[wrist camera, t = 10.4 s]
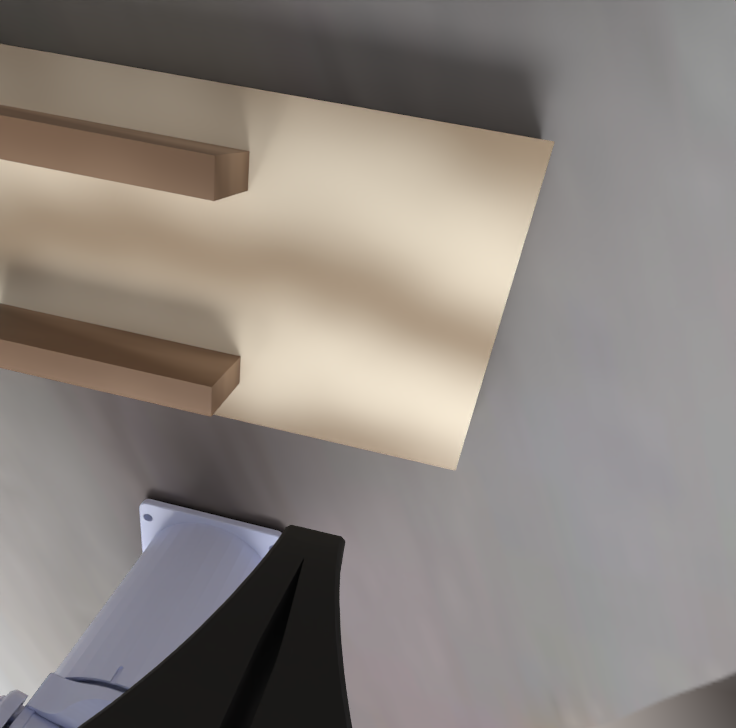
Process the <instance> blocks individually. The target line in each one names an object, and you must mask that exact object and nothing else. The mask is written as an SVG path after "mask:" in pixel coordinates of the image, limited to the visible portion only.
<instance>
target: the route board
mask: <svg viewBox="0 0 736 728" xmlns="http://www.w3.org/2000/svg"><path fill="white" fill-rule="evenodd" d="M553 145H554V142H553V141H548V140H542V139H536V138H531V137H525V136H519V135H514V134H508V133H502V132H497V131H491V130H485V129H480V128H474V127H468V126H463V125H457V124H452V123H446V122H440V121H435V120H429V119H423V118H418V117H412V116H406V115H401V114H395V113H389V112H384V111H378V110H372V109H367V108H361V107H355V106H350V105H344V104H338V103H333V102H327V101H321V100H316V99H310V98H304V97H299V96H293V95H287V94H282V93H276V92H270V91H265V90H259V89H253V88H248V87H242V86H236V85H231V84H225V83H219V82H214V81H208V80H202V79H197V78H191V77H186V76H180V75H174V74H169V73H163V72H157V71H152V70H146V69H140V68H135V67H129V66H123V65H118V64H112V63H106V62H101V61H95V60H89V59H84V58H78V57H72V56H67V55H61V54H55V53H50V52H44V51H38V50H33V49H27V48H21V47H16V46H10V45H4V44H0V368H3V369H8V370H12V371H16V372H21V373H25V374H29V375H34V376H38V377H42V378H47V379H51V380H55V381H59V382H64V383H68V384H72V385H77V386H81V387H85V388H90V389H94V390H98V391H103V392H107V393H111V394H115V395H120V396H124V397H128V398H133V399H137V400H141V401H146V402H150V403H154V404H158V405H163V406H167V407H171V408H176V409H180V410H184V411H189V412H193V413H197V414H202V415H206V416H210V417H211V416H212V415H213V414H214V415H218V416H222V417H227V418H231V419H235V420H240V421H244V422H248V423H252V424H257V425H261V426H265V427H270V428H274V429H278V430H283V431H287V432H291V433H296V434H300V435H304V436H309V437H313V438H317V439H322V440H326V441H330V442H335V443H339V444H343V445H347V446H352V447H356V448H360V449H365V450H369V451H373V452H378V453H382V454H386V455H391V456H395V457H399V458H404V459H408V460H412V461H417V462H421V463H425V464H429V465H434V466H438V467H442V468H447V469H451V470H456V467H457V464H458V460H459V457H460V454H461V450H462V447H463V444H464V440H465V437H466V434H467V430H468V427H469V424H470V420H471V417H472V414H473V411H474V407H475V404H476V401H477V397H478V394H479V391H480V387H481V384H482V381H483V377H484V374H485V371H486V367H487V364H488V361H489V358H490V354H491V351H492V348H493V344H494V341H495V338H496V334H497V331H498V328H499V324H500V321H501V318H502V314H503V311H504V308H505V305H506V301H507V298H508V295H509V291H510V288H511V285H512V281H513V278H514V275H515V271H516V268H517V265H518V261H519V258H520V255H521V252H522V248H523V245H524V242H525V238H526V235H527V232H528V228H529V225H530V222H531V218H532V215H533V212H534V208H535V205H536V202H537V199H538V195H539V192H540V189H541V185H542V182H543V179H544V175H545V172H546V169H547V165H548V162H549V159H550V155H551V152H552V149H553Z"/></svg>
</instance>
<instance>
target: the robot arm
mask: <svg viewBox="0 0 736 728" xmlns="http://www.w3.org/2000/svg"><path fill="white" fill-rule="evenodd" d="M139 512H140V525H141V539H142V552H143V553H142V555H141V556H140V557H139V559H138V560H137V561H136V563H135V564H134V565H133V567H132V568H131V570H130V571H129V572H128V574H127V575H126V576H125V578H124V579H123V580H122V582H121V583H120V584H119V586H118V587H117V588H116V590H115V591H114V593H113V594H112V595H111V597H110V598H109V599H108V601H107V602H106V603H105V605H104V606H103V607H102V609H101V610H100V611H99V613H98V614H97V616H96V617H95V618H94V620H93V621H92V622H91V624H90V625H89V626H88V628H87V629H86V630H85V632H84V633H83V634H82V636H81V637H80V639H79V640H78V641H77V643H76V644H75V645H74V647H73V648H72V649H71V651H70V652H69V653H68V655H67V656H66V657H65V659H64V660H63V661H62V663H61V664H60V666H59V667H58V668H57V670H56V671H55V672H54V673H50V674H49V675H48V676H47V678H46V679H45V680H44V682H43V683H42V684H41V686H40V687H39V688H38V690H37V691H36V692H35V694H34V695H33V696H32V698H31V699H30V700H29V702H28V703H27V705H26V706H23V703H24V702H25V700H26V698H27V697H28V695H26V694H24V693H23V692H21V691H19V690H14V691H11V692H10V693H9V694H8V695H7V696H5V695H4V696H0V728H352V724H351V718H350V711H349V705H348V698H347V691H346V684H345V675H344V666H343V656H342V645H341V631H340V606H339V587H340V570H341V564H342V558H343V552H344V546H345V540H344V539H343V538H342V537H341V536H337V535H333V534H328V533H324V532H320V531H316V530H311V529H307V528H303V527H298V526H294V525H290V526H288V527H286V528H285V530H284V531H283V532H282V533H281V532H280V531H277V530H273V529H269V528H265V527H261V526H257V525H253V524H249V523H245V522H241V521H237V520H233V519H229V518H225V517H221V516H217V515H213V514H209V513H205V512H201V511H197V510H193V509H189V508H185V507H181V506H177V505H173V504H169V503H165V502H161V501H157V500H153V499H145V500H144V501H143V502H142V503H141V504H140V506H139Z"/></svg>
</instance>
